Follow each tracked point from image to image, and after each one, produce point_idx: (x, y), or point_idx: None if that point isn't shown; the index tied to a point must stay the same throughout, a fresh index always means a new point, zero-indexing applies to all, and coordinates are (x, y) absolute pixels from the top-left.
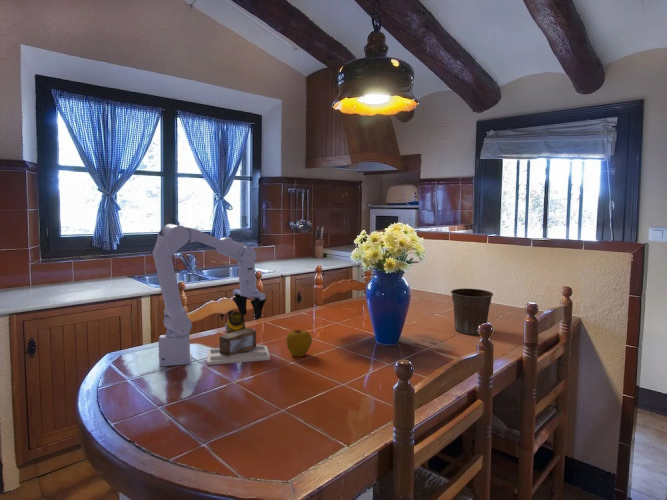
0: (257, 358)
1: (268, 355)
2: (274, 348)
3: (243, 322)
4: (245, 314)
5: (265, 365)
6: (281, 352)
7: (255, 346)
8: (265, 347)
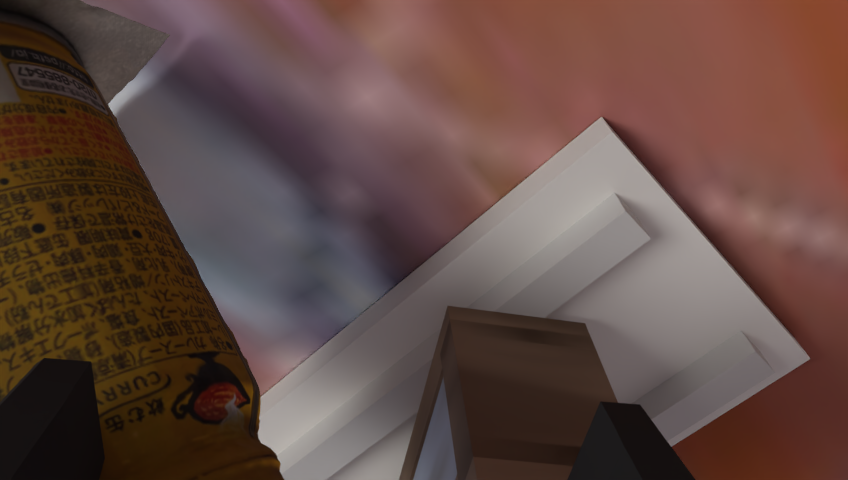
0: (698, 425)
1: (776, 341)
2: (692, 50)
3: (240, 419)
4: (92, 386)
5: (801, 436)
6: (834, 120)
7: (585, 340)
8: (628, 180)
